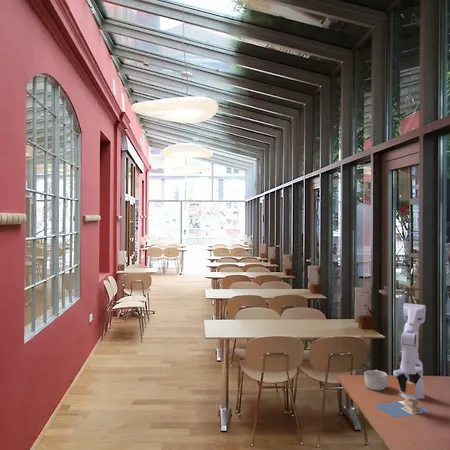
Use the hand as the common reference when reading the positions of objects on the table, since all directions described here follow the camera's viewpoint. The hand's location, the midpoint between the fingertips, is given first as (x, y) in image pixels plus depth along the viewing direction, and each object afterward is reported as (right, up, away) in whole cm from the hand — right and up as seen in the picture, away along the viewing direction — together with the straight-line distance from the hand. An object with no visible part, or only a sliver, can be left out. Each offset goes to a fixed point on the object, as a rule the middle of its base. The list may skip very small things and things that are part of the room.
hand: (407, 390), depth 212 cm
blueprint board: (-2, -9, +1) cm, 9 cm away
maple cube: (+2, -8, -1) cm, 9 cm away
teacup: (-5, -9, +28) cm, 30 cm away
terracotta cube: (0, -1, 0) cm, 1 cm away
